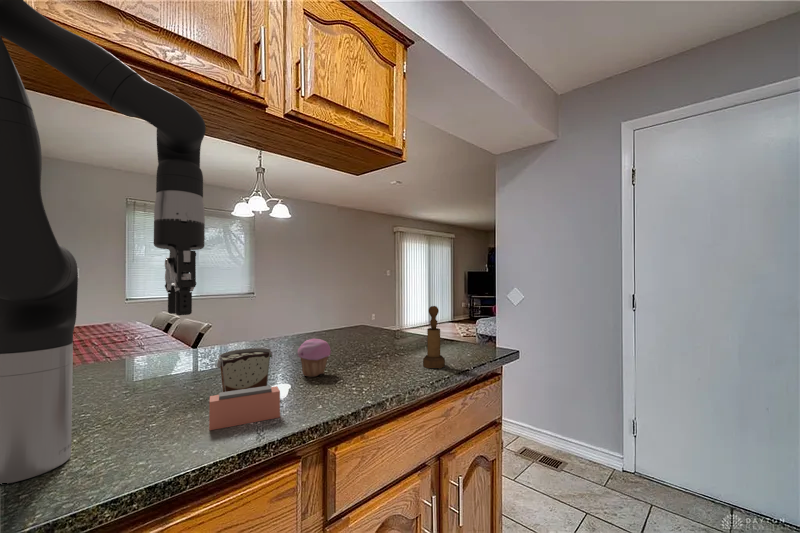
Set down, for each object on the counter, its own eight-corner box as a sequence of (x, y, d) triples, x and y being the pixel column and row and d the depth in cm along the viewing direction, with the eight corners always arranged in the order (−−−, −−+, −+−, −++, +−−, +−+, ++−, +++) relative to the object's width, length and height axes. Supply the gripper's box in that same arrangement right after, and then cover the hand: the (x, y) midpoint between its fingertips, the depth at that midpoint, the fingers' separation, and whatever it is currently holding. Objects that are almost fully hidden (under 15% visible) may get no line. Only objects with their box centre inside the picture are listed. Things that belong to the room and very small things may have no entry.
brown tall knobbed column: (438, 370, 100) (438, 307, 101) (419, 367, 104) (418, 306, 104) (448, 365, 106) (447, 305, 106) (429, 362, 109) (429, 304, 110)
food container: (259, 385, 87) (259, 345, 87) (272, 390, 83) (272, 348, 83) (206, 399, 78) (207, 354, 78) (218, 406, 74) (219, 358, 74)
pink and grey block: (209, 430, 62) (209, 398, 62) (209, 423, 65) (209, 392, 65) (279, 417, 67) (280, 388, 68) (277, 411, 70) (277, 383, 71)
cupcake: (313, 369, 102) (313, 335, 102) (337, 372, 98) (337, 337, 98) (291, 377, 94) (291, 340, 94) (315, 381, 90) (315, 342, 91)
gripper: (149, 225, 64) (148, 314, 63) (159, 210, 53) (157, 317, 52) (196, 229, 69) (195, 311, 68) (213, 216, 58) (213, 313, 57)
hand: (179, 314), depth 60 cm, fingers open, 8 cm apart
